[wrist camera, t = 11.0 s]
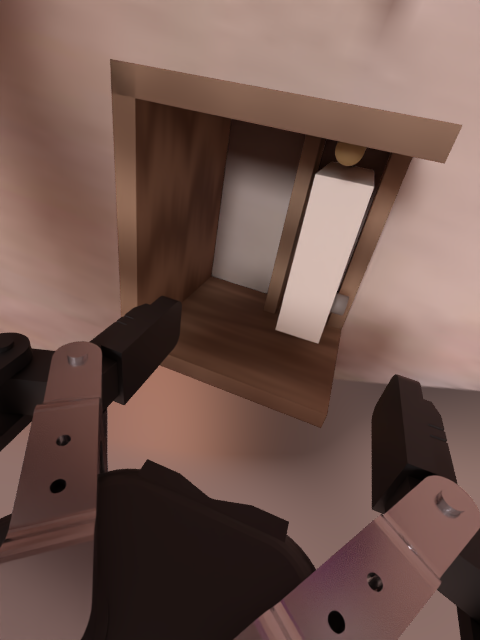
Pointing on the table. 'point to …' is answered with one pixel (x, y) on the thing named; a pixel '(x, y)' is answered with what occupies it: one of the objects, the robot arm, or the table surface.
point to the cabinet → (203, 213)
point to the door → (324, 249)
